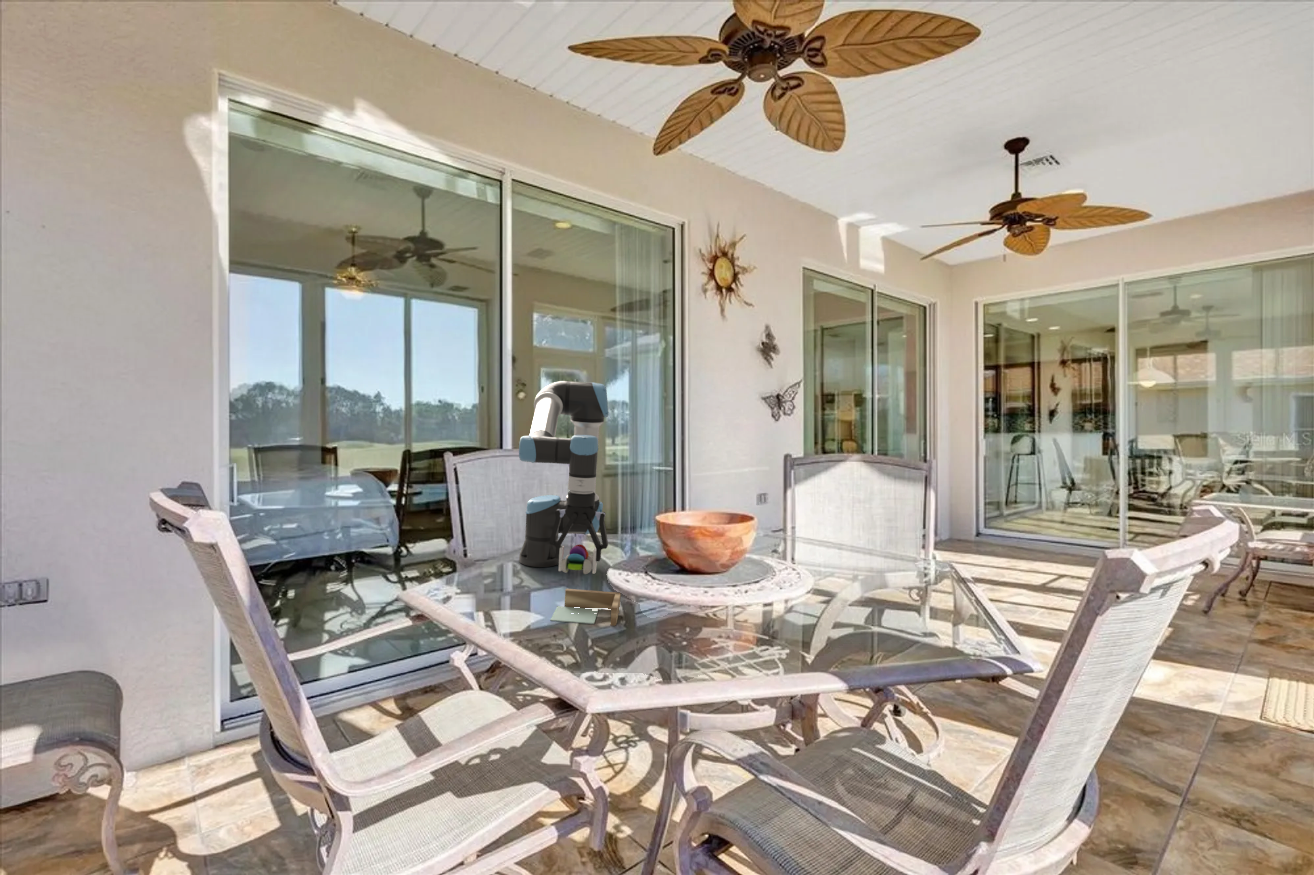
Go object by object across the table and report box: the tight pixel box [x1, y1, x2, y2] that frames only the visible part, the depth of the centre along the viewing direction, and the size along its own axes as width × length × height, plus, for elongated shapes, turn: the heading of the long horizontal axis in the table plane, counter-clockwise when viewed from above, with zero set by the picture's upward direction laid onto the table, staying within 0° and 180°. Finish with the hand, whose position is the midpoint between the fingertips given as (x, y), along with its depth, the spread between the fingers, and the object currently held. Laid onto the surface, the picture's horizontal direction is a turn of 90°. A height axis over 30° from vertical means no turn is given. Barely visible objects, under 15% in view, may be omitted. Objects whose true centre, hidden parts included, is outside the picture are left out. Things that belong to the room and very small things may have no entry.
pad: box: [550, 605, 599, 625], centre depth 174 cm, size 10×12×1 cm
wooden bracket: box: [563, 588, 622, 626], centre depth 175 cm, size 12×16×5 cm
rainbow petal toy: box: [560, 544, 593, 575], centre depth 173 cm, size 8×10×7 cm
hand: (577, 570), depth 173 cm, fingers closed on rainbow petal toy, 9 cm apart
